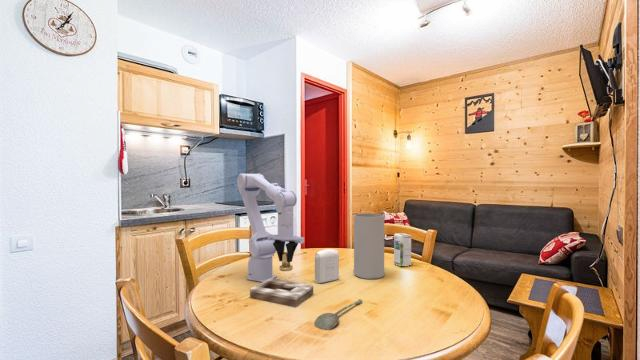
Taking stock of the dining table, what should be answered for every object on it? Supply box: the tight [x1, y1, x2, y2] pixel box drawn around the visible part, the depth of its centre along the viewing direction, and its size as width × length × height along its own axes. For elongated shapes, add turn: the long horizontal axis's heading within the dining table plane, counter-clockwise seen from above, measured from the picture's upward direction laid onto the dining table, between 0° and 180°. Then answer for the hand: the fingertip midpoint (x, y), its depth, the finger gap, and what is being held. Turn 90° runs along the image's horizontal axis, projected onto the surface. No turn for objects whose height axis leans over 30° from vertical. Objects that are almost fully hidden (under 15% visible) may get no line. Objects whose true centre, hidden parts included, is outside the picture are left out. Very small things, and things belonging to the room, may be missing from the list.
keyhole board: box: [249, 278, 314, 308], centre depth 107 cm, size 18×12×3 cm, turn 64°
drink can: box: [393, 232, 412, 267], centre depth 143 cm, size 6×6×14 cm
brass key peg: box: [279, 251, 294, 272], centre depth 114 cm, size 5×5×6 cm
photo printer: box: [314, 248, 340, 284], centre depth 122 cm, size 10×4×12 cm, turn 123°
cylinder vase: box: [353, 212, 385, 280], centre depth 129 cm, size 12×12×25 cm
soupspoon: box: [313, 298, 363, 331], centre depth 92 cm, size 22×3×7 cm
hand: (285, 261), depth 114 cm, fingers closed on brass key peg, 3 cm apart
